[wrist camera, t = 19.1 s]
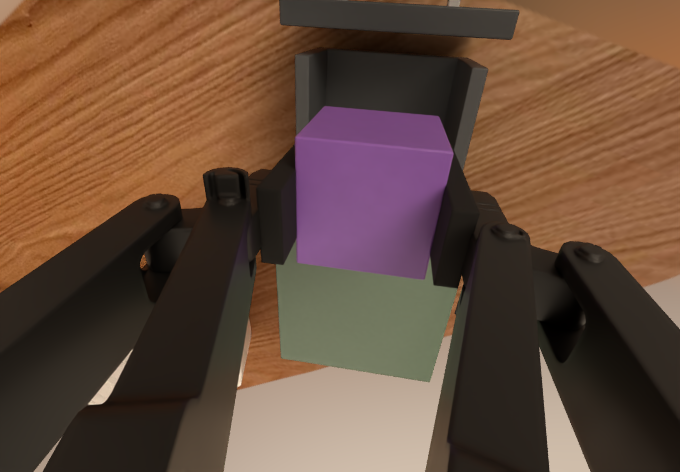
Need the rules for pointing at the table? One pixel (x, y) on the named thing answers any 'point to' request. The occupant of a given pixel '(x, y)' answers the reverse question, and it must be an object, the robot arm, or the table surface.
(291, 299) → the drawer casing
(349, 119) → the violet rounded cube
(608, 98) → the table surface
